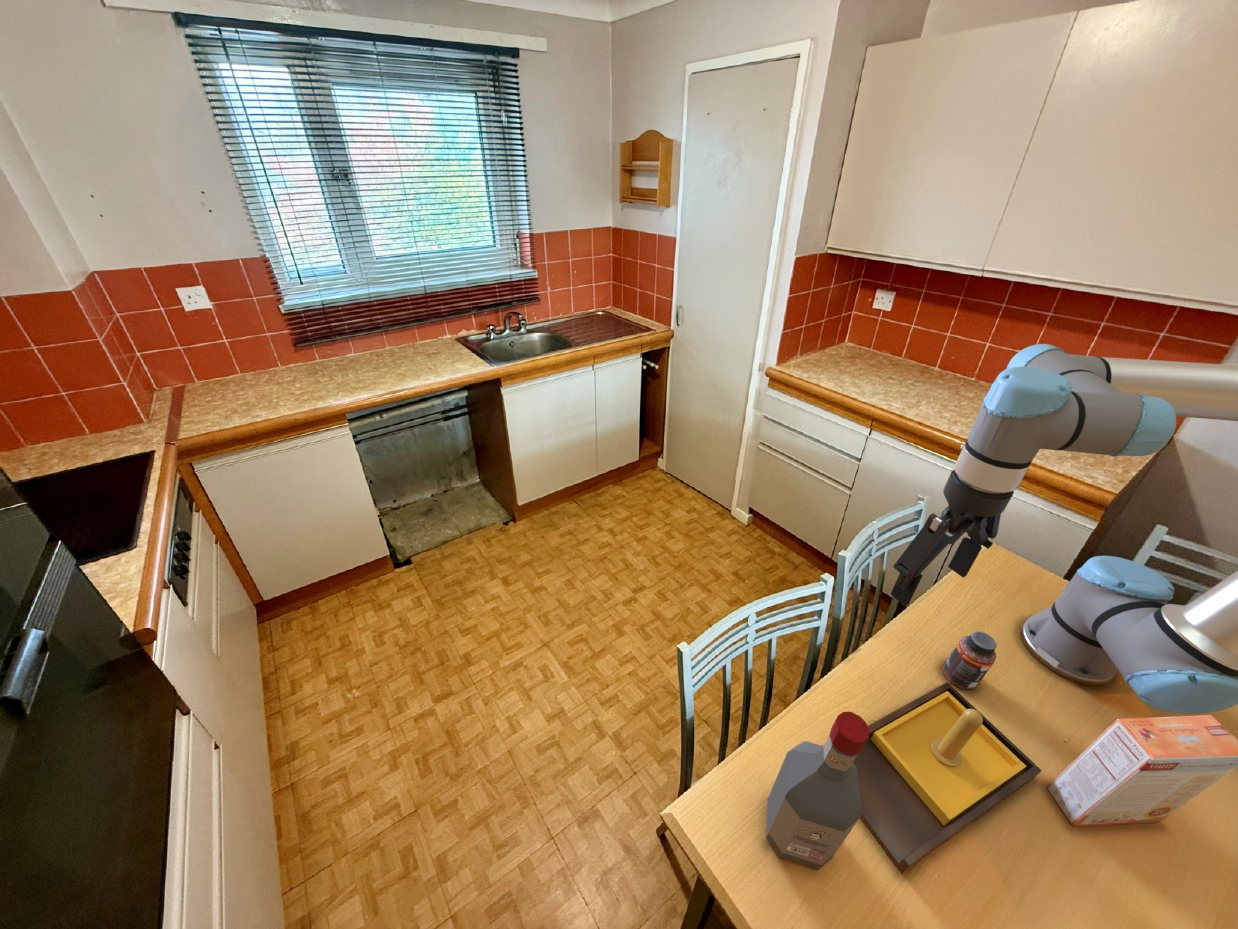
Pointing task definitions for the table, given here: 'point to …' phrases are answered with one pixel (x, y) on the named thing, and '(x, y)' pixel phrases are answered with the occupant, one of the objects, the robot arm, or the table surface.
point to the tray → (936, 776)
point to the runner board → (902, 812)
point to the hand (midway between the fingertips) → (928, 585)
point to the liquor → (817, 795)
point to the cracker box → (1144, 770)
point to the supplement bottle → (970, 660)
